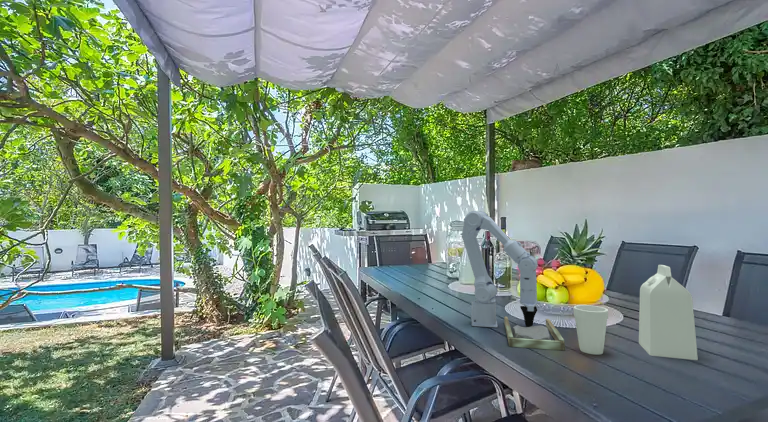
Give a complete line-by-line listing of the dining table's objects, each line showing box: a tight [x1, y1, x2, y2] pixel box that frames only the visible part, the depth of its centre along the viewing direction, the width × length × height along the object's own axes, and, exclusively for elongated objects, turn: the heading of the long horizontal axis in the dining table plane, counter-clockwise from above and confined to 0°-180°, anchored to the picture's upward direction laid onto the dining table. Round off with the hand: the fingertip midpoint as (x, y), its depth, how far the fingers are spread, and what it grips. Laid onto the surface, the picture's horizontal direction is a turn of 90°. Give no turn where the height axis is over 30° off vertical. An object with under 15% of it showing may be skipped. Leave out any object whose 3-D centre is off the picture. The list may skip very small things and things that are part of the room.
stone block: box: [511, 324, 552, 340], centre depth 129 cm, size 12×5×10 cm
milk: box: [638, 264, 698, 361], centre depth 116 cm, size 12×12×26 cm
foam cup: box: [573, 304, 609, 356], centre depth 117 cm, size 10×9×13 cm
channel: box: [503, 316, 566, 351], centre depth 133 cm, size 17×28×3 cm, turn 165°
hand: (528, 326), depth 139 cm, fingers closed
